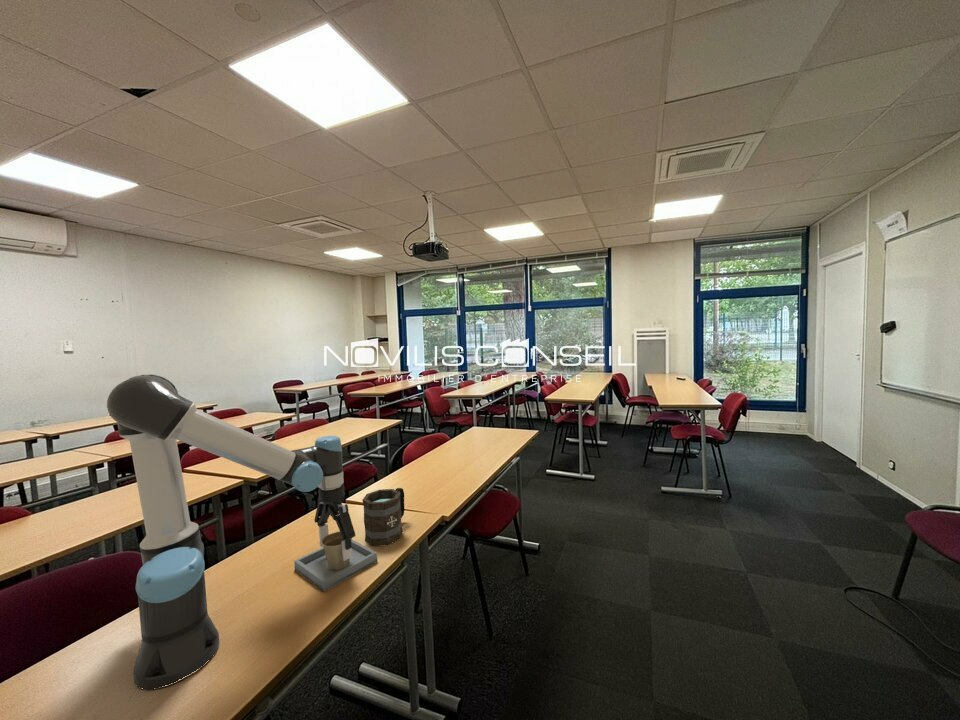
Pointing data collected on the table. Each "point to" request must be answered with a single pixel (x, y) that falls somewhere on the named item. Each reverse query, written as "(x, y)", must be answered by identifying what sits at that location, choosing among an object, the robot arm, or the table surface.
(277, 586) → the table surface
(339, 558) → the flower pot
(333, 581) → the tray
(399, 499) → the mug
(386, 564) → the table surface
